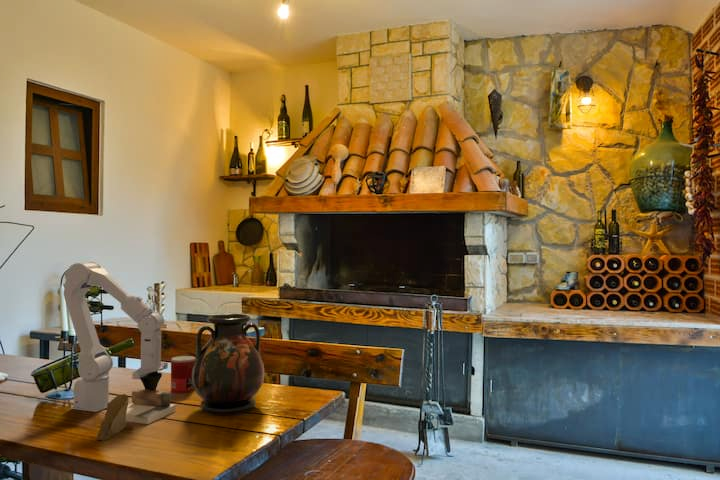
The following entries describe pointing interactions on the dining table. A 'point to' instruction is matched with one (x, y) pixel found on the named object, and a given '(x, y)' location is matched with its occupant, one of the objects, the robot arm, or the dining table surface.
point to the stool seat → (147, 412)
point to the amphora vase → (228, 366)
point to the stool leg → (151, 397)
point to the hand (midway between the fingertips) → (150, 397)
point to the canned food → (182, 374)
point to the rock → (114, 417)
